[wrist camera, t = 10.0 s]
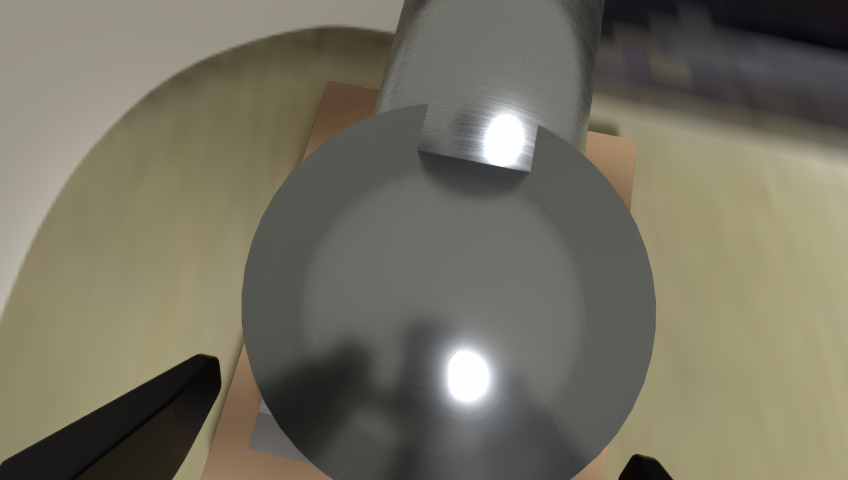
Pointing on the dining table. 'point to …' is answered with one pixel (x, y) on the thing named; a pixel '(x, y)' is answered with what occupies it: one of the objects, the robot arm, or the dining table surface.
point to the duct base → (244, 407)
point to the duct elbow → (456, 263)
